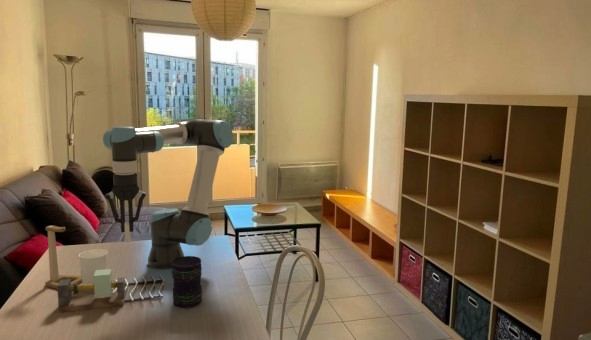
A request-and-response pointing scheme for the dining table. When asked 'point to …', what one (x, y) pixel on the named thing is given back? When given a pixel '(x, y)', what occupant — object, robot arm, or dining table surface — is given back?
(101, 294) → the sleeve
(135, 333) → the dining table surface
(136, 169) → the robot arm
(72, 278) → the headphone stand
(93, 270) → the candle holder
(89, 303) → the rail
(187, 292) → the storage jar
